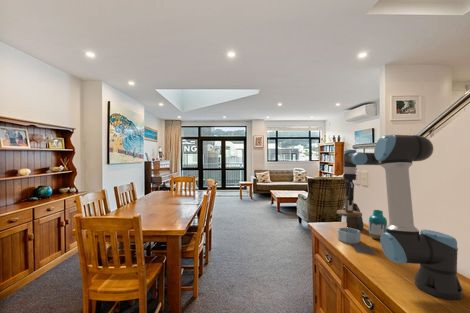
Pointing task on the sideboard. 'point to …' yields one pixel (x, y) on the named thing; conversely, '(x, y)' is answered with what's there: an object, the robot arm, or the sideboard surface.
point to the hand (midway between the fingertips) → (349, 209)
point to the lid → (348, 211)
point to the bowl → (348, 235)
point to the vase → (377, 224)
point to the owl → (355, 220)
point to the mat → (363, 249)
